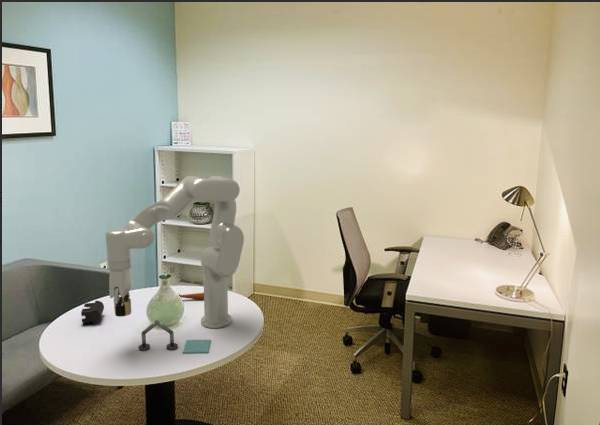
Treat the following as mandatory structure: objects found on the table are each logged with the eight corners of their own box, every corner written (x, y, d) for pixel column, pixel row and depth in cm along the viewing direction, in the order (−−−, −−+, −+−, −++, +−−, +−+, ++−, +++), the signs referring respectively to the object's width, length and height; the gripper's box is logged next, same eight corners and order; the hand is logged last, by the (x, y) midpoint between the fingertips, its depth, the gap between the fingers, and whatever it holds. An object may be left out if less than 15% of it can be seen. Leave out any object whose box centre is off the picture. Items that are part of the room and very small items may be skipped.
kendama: (204, 294, 214) (158, 294, 209) (204, 305, 216) (158, 305, 211) (204, 287, 219) (159, 286, 214) (203, 298, 222) (159, 298, 217)
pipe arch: (140, 345, 175) (138, 318, 173) (178, 344, 176) (177, 317, 174) (137, 351, 171) (135, 323, 169) (176, 350, 172) (175, 322, 170)
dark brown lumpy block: (101, 325, 191) (100, 309, 189) (82, 326, 189) (80, 311, 188) (104, 314, 200) (103, 299, 199) (86, 316, 199) (85, 301, 197)
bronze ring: (118, 310, 172) (117, 297, 171) (132, 310, 173) (131, 297, 172) (113, 316, 167) (112, 303, 166) (128, 316, 168) (127, 303, 167)
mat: (186, 341, 179) (186, 340, 179) (210, 341, 180) (210, 339, 179) (182, 353, 170) (182, 352, 170) (208, 353, 171) (208, 351, 171)
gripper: (116, 256, 174) (119, 302, 178) (100, 272, 157) (104, 323, 161) (137, 256, 174) (140, 302, 178) (123, 272, 158) (127, 322, 162)
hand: (123, 311), depth 170 cm, fingers closed on bronze ring, 5 cm apart
